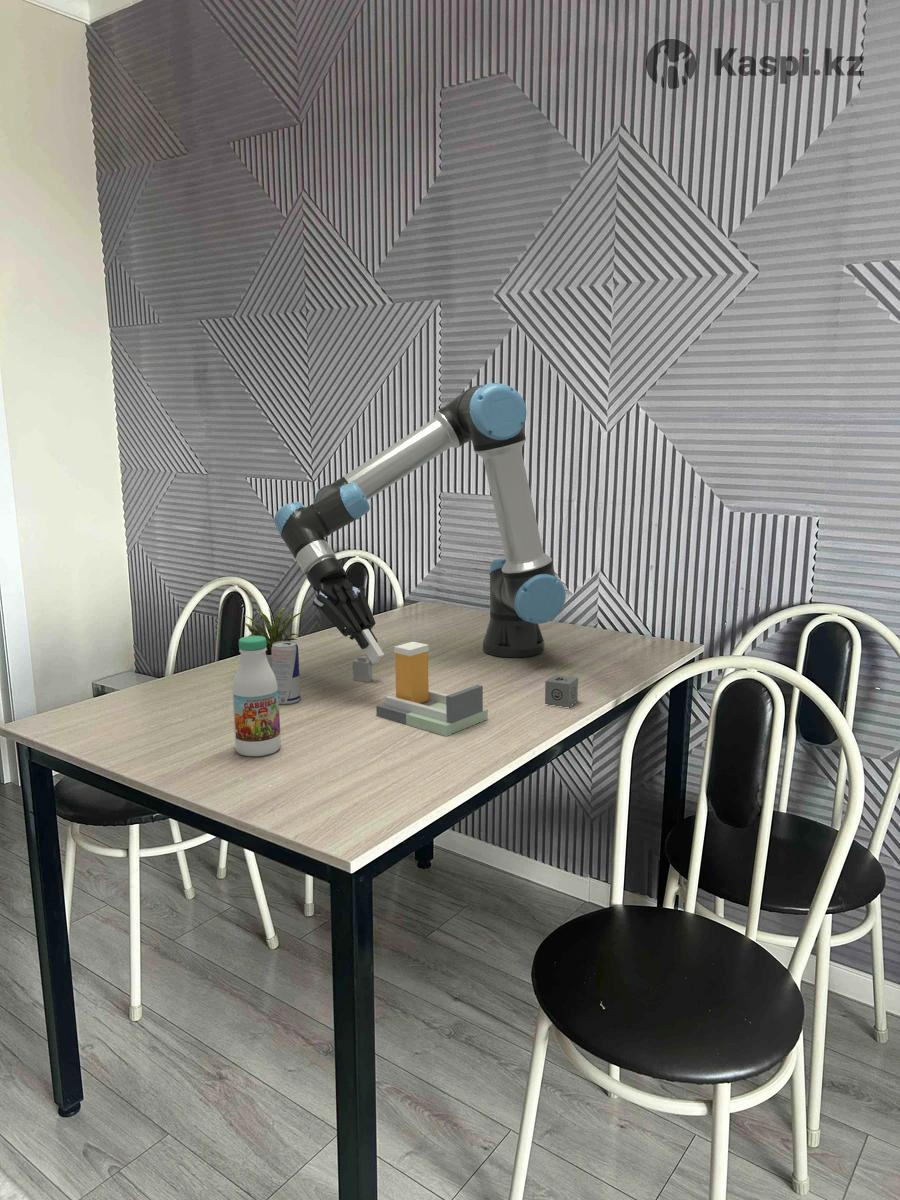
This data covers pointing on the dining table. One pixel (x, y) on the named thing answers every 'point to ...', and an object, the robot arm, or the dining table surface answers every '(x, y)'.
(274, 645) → the energy drink
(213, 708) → the dining table surface
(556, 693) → the dice cube
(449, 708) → the grey rail tray
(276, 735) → the milk bottle
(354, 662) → the lighter
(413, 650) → the block
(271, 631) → the house plant
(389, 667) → the dining table surface
